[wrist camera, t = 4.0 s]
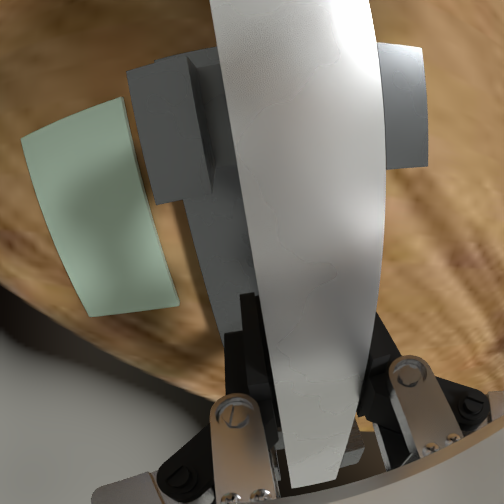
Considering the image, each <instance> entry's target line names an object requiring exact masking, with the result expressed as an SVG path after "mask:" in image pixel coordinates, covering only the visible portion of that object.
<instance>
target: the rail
mask: <svg viewBox="0 0 504 504" xmlns="http://www.w3.org/2000/svg"><path fill="white" fill-rule="evenodd" d="M210 6H211V12H212V19H213V25H214V31H215V37H216V43H217V48H218V54H219V60H220V66H221V72H222V78H223V84H224V90H225V96H226V102H227V108H228V114H229V120H230V126H231V131H232V137H233V143H234V149H235V155H236V161H237V167H238V173H239V179H240V185H241V191H242V197H243V203H244V208H245V214H246V220H247V226H248V232H249V238H250V244H251V250H252V256H253V262H254V268H255V274H256V279H257V285H258V291H259V297H260V303H261V309H262V315H263V321H264V327H265V333H266V338H267V344H268V350H269V356H270V362H271V368H272V374H273V379H274V385H275V391H276V397H277V403H278V409H279V415H280V421H281V427H282V433H283V439H284V445H285V451H286V457H287V463H288V469H289V474H290V480H291V486H292V488H297V487H302V486H307V485H312V484H317V483H321V482H326V481H330V480H334V479H336V476H337V473H338V470H339V467H340V464H341V461H342V458H343V455H344V452H345V449H346V445H347V442H348V439H349V435H350V432H351V428H352V425H353V421H354V417H355V413H356V409H357V405H358V401H359V397H360V393H361V389H362V384H363V380H364V375H365V370H366V366H367V361H368V355H369V350H370V345H371V339H372V333H373V327H374V320H375V314H376V307H377V299H378V291H379V283H380V274H381V264H382V252H383V239H384V222H385V195H386V151H385V125H384V109H383V96H382V85H381V76H380V67H379V59H378V52H377V45H376V39H375V33H374V27H373V21H372V16H371V11H370V6H369V1H368V0H210Z"/></svg>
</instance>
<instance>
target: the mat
mask: <svg viewBox="0 0 504 504" xmlns="http://www.w3.org/2000/svg"><path fill="white" fill-rule="evenodd" d="M21 143H22V147H23V151H24V155H25V158H26V162H27V166H28V169H29V173H30V176H31V180H32V183H33V186H34V189H35V192H36V195H37V198H38V201H39V204H40V207H41V210H42V213H43V216H44V218H45V221H46V224H47V226H48V229H49V231H50V234H51V236H52V239H53V241H54V244H55V246H56V249H57V251H58V253H59V256H60V258H61V260H62V262H63V265H64V267H65V269H66V271H67V273H68V275H69V278H70V280H71V282H72V284H73V286H74V288H75V290H76V292H77V294H78V296H79V298H80V300H81V302H82V304H83V306H84V307H85V309H86V311H87V313H88V315H89V317H97V316H105V315H114V314H122V313H130V312H138V311H146V310H153V309H161V308H168V307H175V306H179V304H180V301H179V298H178V295H177V292H176V289H175V286H174V283H173V281H172V278H171V275H170V272H169V269H168V266H167V263H166V259H165V256H164V253H163V250H162V247H161V244H160V240H159V237H158V234H157V231H156V227H155V224H154V221H153V217H152V214H151V210H150V207H149V203H148V200H147V196H146V192H145V189H144V185H143V181H142V177H141V173H140V169H139V165H138V161H137V157H136V153H135V149H134V145H133V140H132V136H131V132H130V127H129V122H128V118H127V113H126V108H125V103H124V98H123V97H119V98H116V99H113V100H110V101H107V102H104V103H102V104H99V105H96V106H93V107H91V108H88V109H85V110H83V111H80V112H78V113H75V114H73V115H70V116H68V117H66V118H63V119H61V120H59V121H56V122H54V123H52V124H50V125H47V126H45V127H43V128H41V129H39V130H37V131H35V132H33V133H31V134H29V135H27V136H25V137H23V138H21Z"/></svg>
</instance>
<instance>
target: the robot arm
mask: <svg viewBox="0 0 504 504" xmlns="http://www.w3.org/2000/svg"><path fill="white" fill-rule="evenodd" d="M240 307H241V319H242V330H241V331H235V332H228V333H224V357H225V389H226V395H225V396H223V397H222V398H220V399H218V400H217V401H216V402H215V403H214V405H213V407H212V409H211V412H210V423H209V424H208V425H207V426H205V427H204V428H203V429H202V430H201V431H200V432H199V433H198V434H197V435H195V436H194V437H193V438H192V439H191V440H190V441H189V442H188V443H186V444H185V445H184V446H183V447H182V448H181V449H180V450H178V451H177V452H176V453H175V454H174V455H173V456H171V457H170V458H169V459H168V460H167V461H166V462H164V463H163V464H162V466H161V467H160V468H159V470H158V471H155V472H152V473H149V472H145V473H142V474H139V475H137V476H133V477H130V478H127V479H124V480H121V481H118V482H114V483H111V484H107V485H104V486H101V487H99V488H97V489H96V490H95V491H94V492H93V494H92V498H91V504H504V391H492V392H488V393H487V394H485V395H484V394H483V393H482V392H481V391H479V390H477V389H474V388H470V387H467V386H464V385H461V384H458V383H454V382H451V381H448V380H445V379H442V378H439V377H436V376H434V374H433V372H432V370H431V368H430V366H429V365H428V363H427V362H426V361H425V360H423V359H422V358H420V357H417V356H413V355H406V356H401V354H400V352H399V350H398V348H397V347H396V345H395V343H394V341H393V340H392V338H391V336H390V334H389V333H388V331H387V329H386V327H385V326H384V324H383V322H382V321H381V319H380V317H379V315H378V314H377V312H376V314H375V320H374V327H373V333H372V339H371V345H370V350H369V355H368V361H367V366H366V370H365V375H364V380H363V384H362V389H361V393H360V397H359V401H358V405H357V409H356V412H357V415H358V417H362V416H365V417H366V419H367V420H368V421H371V422H373V427H374V431H375V434H376V437H377V440H378V444H379V447H380V450H381V454H382V457H383V461H384V464H385V468H386V471H387V472H385V473H382V474H380V475H377V476H374V477H370V478H367V479H364V480H361V481H357V482H354V483H350V484H347V485H343V486H339V487H335V488H331V489H327V490H323V491H318V492H314V493H309V494H304V495H298V496H294V497H287V498H280V493H279V488H278V483H277V478H276V473H275V468H274V463H273V458H272V453H271V449H272V447H273V446H274V445H275V444H276V443H277V442H278V441H279V437H278V429H277V428H278V427H281V421H280V415H279V409H278V403H277V397H276V391H275V385H274V379H273V374H272V368H271V362H270V356H269V350H268V344H267V338H266V333H265V327H264V321H263V315H262V309H261V303H260V297H259V295H257V296H255V293H254V292H250V293H244V294H240Z"/></svg>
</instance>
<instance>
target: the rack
mask: <svg viewBox="0 0 504 504" xmlns="http://www.w3.org/2000/svg"><path fill="white" fill-rule="evenodd" d="M376 45H377V52H378V59H379V67H380V76H381V85H382V96H383V109H384V125H385V151H386V170H388V169H400V168H413V167H427V166H428V112H427V94H426V82H425V71H424V63H423V55H422V48H418V47H412V46H405V45H397V44H388V43H376ZM154 62H155V63H153V64H149V65H146V66H142V67H139V68H136V69H132V70H129V71H126V73H127V79H128V85H129V90H130V95H131V100H132V106H133V110H134V115H135V120H136V125H137V129H138V134H139V138H140V143H141V147H142V151H143V156H144V160H145V164H146V168H147V172H148V176H149V180H150V184H151V188H152V191H153V195H154V199H155V203H156V205H159V204H164V203H169V202H173V201H178V200H183V202H184V206H185V210H186V214H187V218H188V222H189V226H190V230H191V234H192V238H193V242H194V245H195V249H196V253H197V257H198V260H199V264H200V268H201V271H202V275H203V279H204V282H205V286H206V289H207V293H208V296H209V300H210V303H211V306H212V310H213V313H214V317H215V320H216V323H217V327H218V330H219V333H220V336H221V340H222V343H223V346H224V333H228V332H235V331H241V330H242V319H241V307H240V294H244V293H250V292H254V293H255V296H257V295H259V291H258V285H257V279H256V274H255V268H254V262H253V256H252V250H251V244H250V238H249V232H248V226H247V220H246V214H245V208H244V203H243V197H242V191H241V185H240V179H239V173H238V167H237V161H236V155H235V149H234V143H233V137H232V131H231V126H230V120H229V114H228V108H227V102H226V96H225V90H224V84H223V78H222V72H221V66H220V60H219V54H218V48H217V47H212V48H206V49H201V50H196V51H191V52H187V53H182V54H178V55H174V56H169V57H165V58H162V59H158V60H154ZM277 429H278V437H279V441H278V442H277V443H276V444H275V445H274V446H273V447H272V449H271V453H272V458H273V463H274V468H275V473H276V478H277V481H278V480H281V479H280V472H279V466H278V460H277V453H276V450H277V449H284V448H285V445H284V439H283V433H282V427H278V428H277ZM364 448H365V446H364V443H363V440H362V437H361V434H360V431H359V428H358V425H357V422H356V419H355V417H354V421H353V425H352V428H351V432H350V435H349V439H348V442H347V445H346V449H345V452H344V455H343V458H342V461H341V464H340V467H344V466H348V465H352V464H355V463H358V461H359V459H360V457H361V455H362V453H363V451H364Z"/></svg>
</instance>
